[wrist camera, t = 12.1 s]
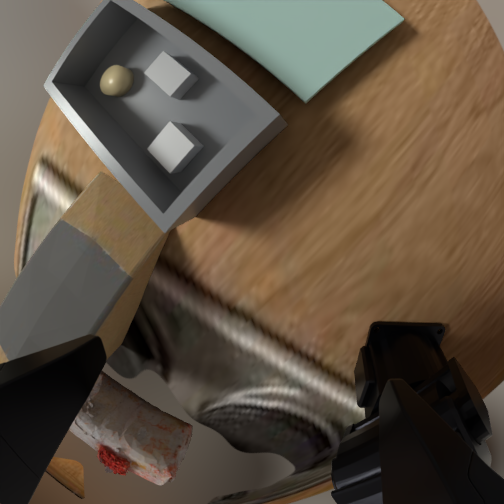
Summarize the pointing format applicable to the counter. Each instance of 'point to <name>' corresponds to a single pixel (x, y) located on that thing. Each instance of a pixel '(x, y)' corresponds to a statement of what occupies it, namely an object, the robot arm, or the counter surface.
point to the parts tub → (159, 110)
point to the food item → (131, 432)
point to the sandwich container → (83, 274)
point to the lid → (298, 34)
